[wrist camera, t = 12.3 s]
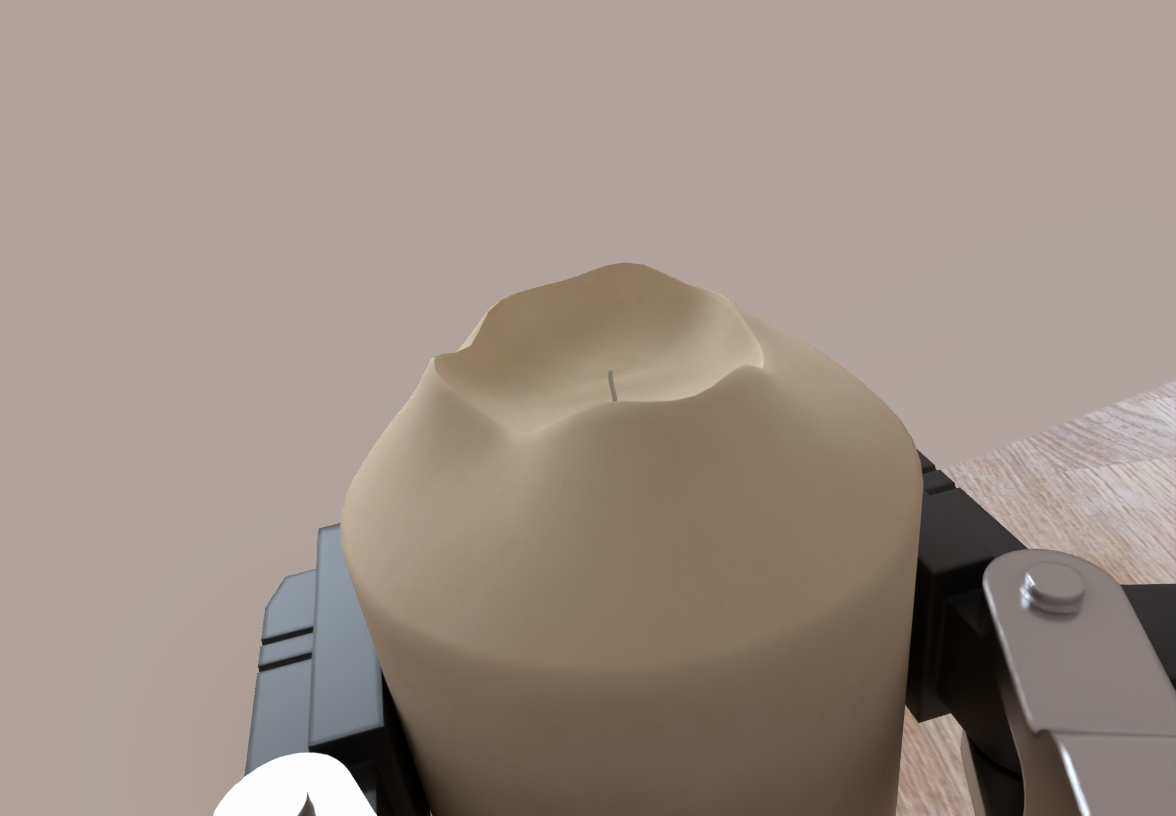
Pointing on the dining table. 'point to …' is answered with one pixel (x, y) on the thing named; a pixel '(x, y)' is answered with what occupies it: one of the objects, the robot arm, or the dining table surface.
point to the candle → (641, 563)
